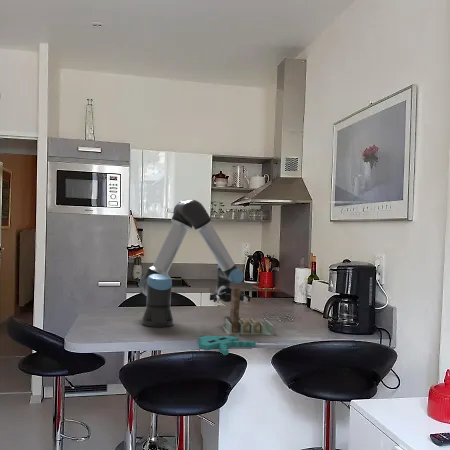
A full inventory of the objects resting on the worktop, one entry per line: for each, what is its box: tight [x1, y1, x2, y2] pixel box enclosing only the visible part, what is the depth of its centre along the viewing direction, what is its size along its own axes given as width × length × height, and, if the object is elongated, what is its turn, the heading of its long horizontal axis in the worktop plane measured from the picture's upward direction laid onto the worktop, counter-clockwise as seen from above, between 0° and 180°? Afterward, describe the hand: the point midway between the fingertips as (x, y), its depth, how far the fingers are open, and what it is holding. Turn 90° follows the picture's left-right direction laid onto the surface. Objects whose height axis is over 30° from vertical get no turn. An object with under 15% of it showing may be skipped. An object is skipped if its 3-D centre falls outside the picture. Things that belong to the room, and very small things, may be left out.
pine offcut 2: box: [249, 317, 261, 333], centre depth 215 cm, size 3×8×5 cm, turn 9°
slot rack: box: [222, 318, 276, 336], centre depth 215 cm, size 22×13×5 cm, turn 99°
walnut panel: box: [229, 285, 241, 333], centre depth 214 cm, size 2×8×20 cm, turn 9°
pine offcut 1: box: [239, 317, 250, 333], centre depth 215 cm, size 3×8×5 cm, turn 9°
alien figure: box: [197, 334, 256, 356], centre depth 191 cm, size 20×2×20 cm
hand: (232, 300), depth 221 cm, fingers open, 13 cm apart
